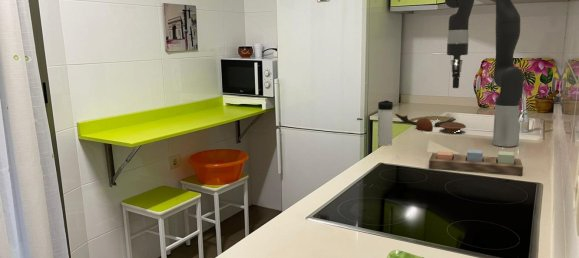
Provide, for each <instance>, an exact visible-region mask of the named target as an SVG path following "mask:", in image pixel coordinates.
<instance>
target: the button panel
mask: <svg viewBox="0 0 579 258" xmlns="http://www.w3.org/2000/svg"><path fill="white" fill-rule="evenodd" d="M437 154H438V152H432V154H431V155H430V158H429V160H428V169H430V170H431V169H432V170H442V171H443V170H445V171H458V172H466V173H467V172H469V173H470V172H471V173H480V174H494V175H508V176H516V177H517V176H519V177H523V174H524V173H523V171H524V166H523V163H522V159H521V158H514V164H501V163H498V156H497V157H496V156H483V157H482V162H473V161H467V154H454V153H453V160H445V159H437Z"/></svg>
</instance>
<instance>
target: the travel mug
mask: <svg viewBox="0 0 579 258" xmlns="http://www.w3.org/2000/svg"><path fill="white" fill-rule="evenodd" d="M377 106H378V107H377V109H378V110H377V145H379V146H383V147H384V146H385V147H387V146H388V147H389V146H392V145H393V121H394V118H393V117H394V116H393V115H394V114H393V113H394V112H393V110H394V108H393V106H394V105H393V102H392V101H389V100H384V101H379V102H378V104H377Z"/></svg>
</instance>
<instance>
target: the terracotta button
mask: <svg viewBox="0 0 579 258" xmlns="http://www.w3.org/2000/svg"><path fill="white" fill-rule="evenodd" d="M437 153H438V154H437V159H445V160H453V154H454V152H453V151H439V150H438V152H437Z"/></svg>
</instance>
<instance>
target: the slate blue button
mask: <svg viewBox="0 0 579 258" xmlns="http://www.w3.org/2000/svg"><path fill="white" fill-rule="evenodd" d="M483 151H484V150H483V149H482V150H481V149H467V151H466V152H467V153H466V155H467V161H473V162H482V157H483V155H484V153H483Z"/></svg>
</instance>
